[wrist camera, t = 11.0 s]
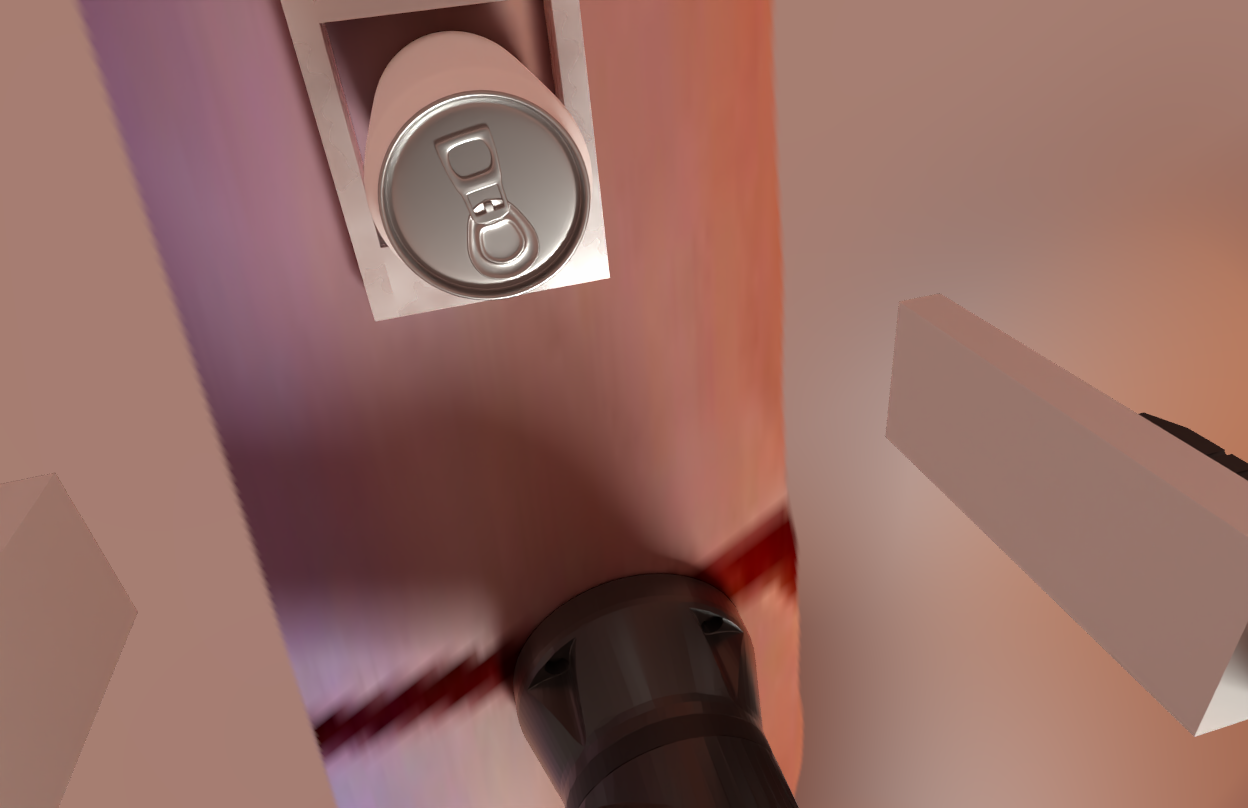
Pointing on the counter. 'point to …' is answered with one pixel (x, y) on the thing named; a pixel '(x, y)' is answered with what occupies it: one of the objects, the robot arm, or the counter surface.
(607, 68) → the counter surface
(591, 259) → the holder
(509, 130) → the can
